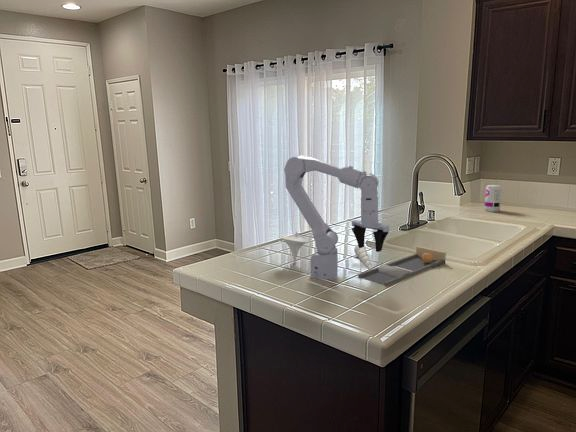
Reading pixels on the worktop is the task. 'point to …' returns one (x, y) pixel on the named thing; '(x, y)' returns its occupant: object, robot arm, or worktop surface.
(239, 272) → the worktop surface
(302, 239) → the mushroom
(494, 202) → the supplement can
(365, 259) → the unicorn horn
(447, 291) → the worktop surface
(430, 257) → the ball
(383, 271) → the divided tray
